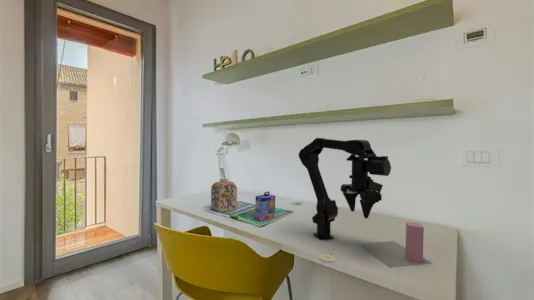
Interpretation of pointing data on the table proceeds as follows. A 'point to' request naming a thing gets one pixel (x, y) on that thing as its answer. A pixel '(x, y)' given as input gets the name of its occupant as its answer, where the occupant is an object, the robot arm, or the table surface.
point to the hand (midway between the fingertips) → (359, 214)
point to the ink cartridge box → (265, 207)
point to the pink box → (414, 242)
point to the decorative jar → (223, 196)
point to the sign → (327, 258)
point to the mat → (390, 253)
